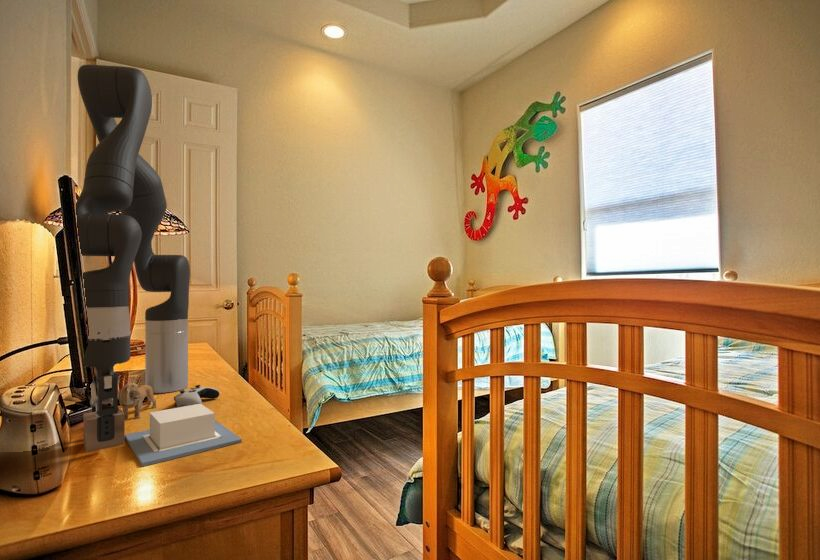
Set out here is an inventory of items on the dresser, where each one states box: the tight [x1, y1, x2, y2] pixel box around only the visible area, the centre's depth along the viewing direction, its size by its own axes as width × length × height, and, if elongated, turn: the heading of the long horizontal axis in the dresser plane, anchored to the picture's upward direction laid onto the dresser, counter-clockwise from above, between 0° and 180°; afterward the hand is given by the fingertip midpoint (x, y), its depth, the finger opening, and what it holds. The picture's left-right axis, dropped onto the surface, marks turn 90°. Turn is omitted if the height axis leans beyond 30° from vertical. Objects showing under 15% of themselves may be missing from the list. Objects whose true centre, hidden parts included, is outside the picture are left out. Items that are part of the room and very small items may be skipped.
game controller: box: [173, 384, 221, 408], centre depth 92 cm, size 10×5×6 cm
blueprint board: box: [125, 419, 243, 467], centre depth 71 cm, size 16×14×1 cm
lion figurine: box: [118, 382, 157, 421], centre depth 86 cm, size 12×4×7 cm, turn 14°
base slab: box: [149, 403, 216, 450], centre depth 71 cm, size 8×8×4 cm
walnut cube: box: [83, 407, 126, 453], centre depth 70 cm, size 5×5×5 cm
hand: (102, 433), depth 70 cm, fingers open, 8 cm apart
